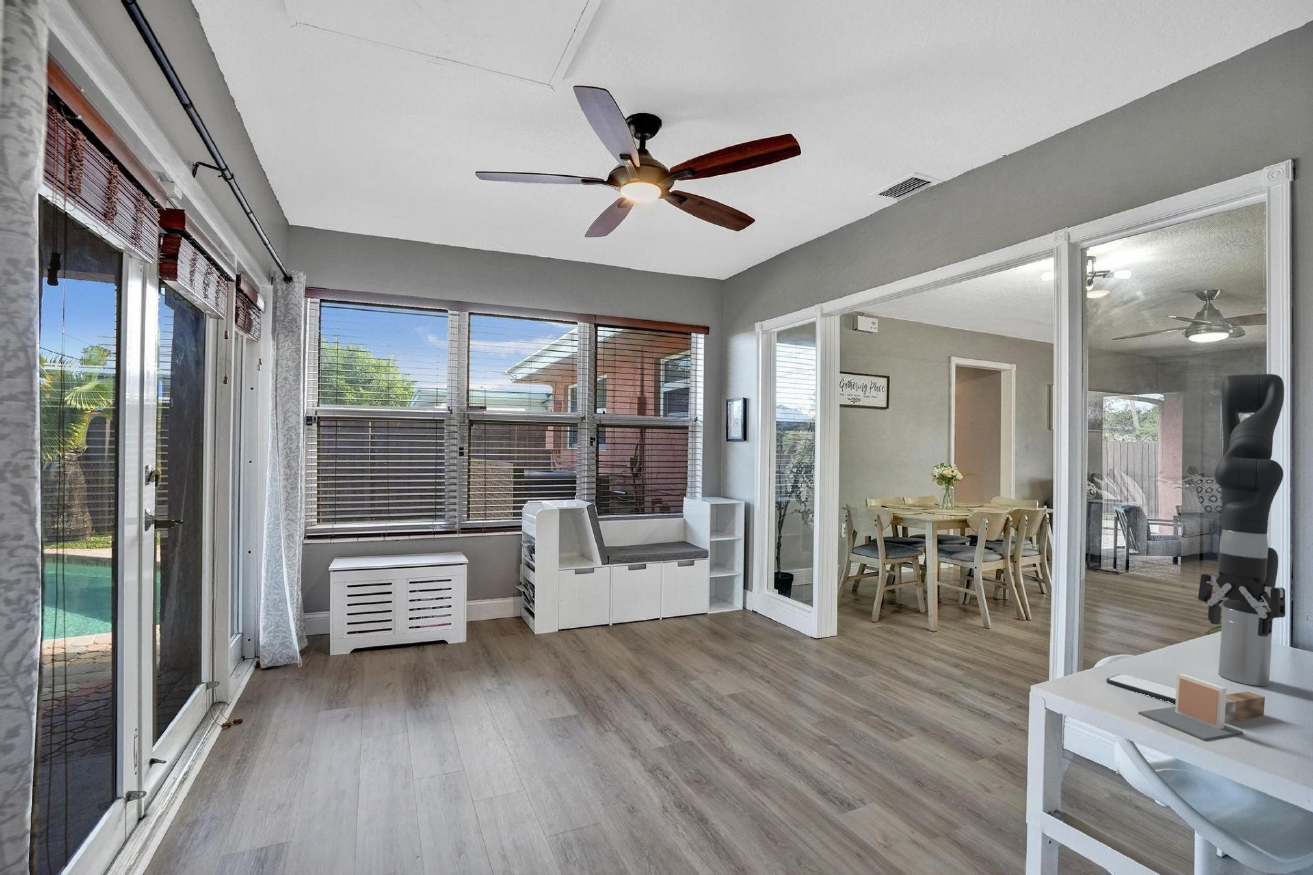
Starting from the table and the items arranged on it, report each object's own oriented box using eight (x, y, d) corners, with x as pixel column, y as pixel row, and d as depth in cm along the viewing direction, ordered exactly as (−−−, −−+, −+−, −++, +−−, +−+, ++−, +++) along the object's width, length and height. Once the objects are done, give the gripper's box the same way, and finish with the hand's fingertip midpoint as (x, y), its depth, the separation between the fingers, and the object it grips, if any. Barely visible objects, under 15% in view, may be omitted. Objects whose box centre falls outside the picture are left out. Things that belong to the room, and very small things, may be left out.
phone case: (1104, 685, 154) (1187, 710, 140) (1104, 678, 154) (1187, 702, 140) (1120, 679, 158) (1203, 703, 145) (1121, 672, 158) (1203, 695, 145)
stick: (1246, 709, 142) (1248, 691, 142) (1263, 715, 139) (1264, 696, 139) (1205, 716, 137) (1207, 697, 136) (1222, 722, 134) (1223, 703, 134)
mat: (1175, 708, 140) (1176, 706, 140) (1242, 733, 129) (1243, 731, 129) (1138, 713, 136) (1138, 711, 136) (1204, 740, 125) (1204, 738, 125)
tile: (1179, 711, 137) (1182, 673, 137) (1224, 728, 130) (1226, 688, 130) (1174, 712, 137) (1176, 673, 137) (1218, 729, 129) (1221, 688, 129)
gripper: (1296, 559, 132) (1291, 639, 132) (1215, 546, 146) (1211, 619, 146) (1274, 560, 130) (1268, 641, 130) (1193, 546, 143) (1189, 620, 143)
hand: (1238, 629), depth 138 cm, fingers open, 8 cm apart
